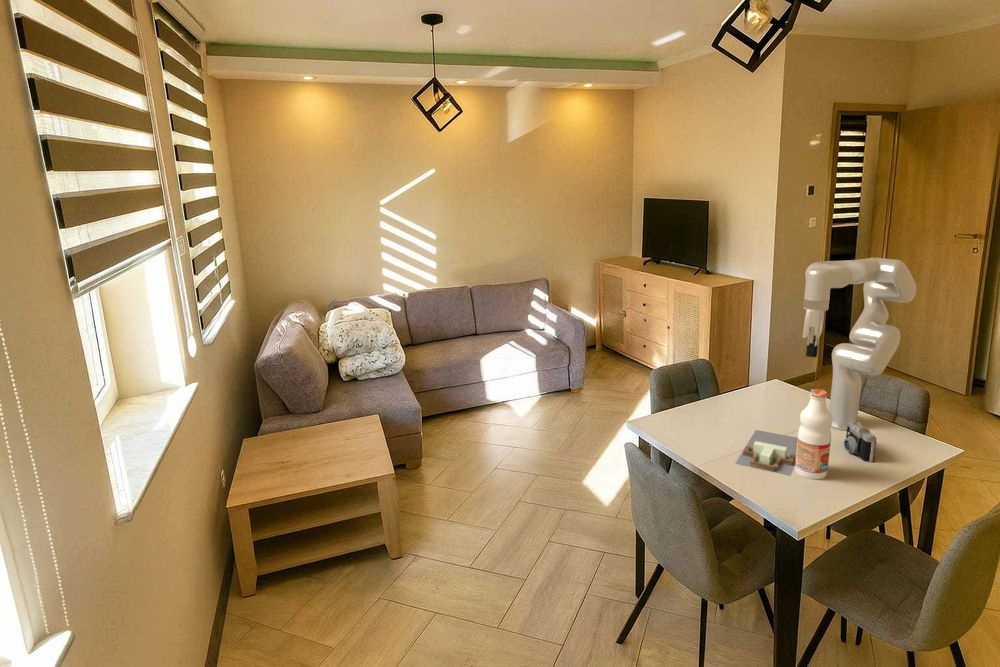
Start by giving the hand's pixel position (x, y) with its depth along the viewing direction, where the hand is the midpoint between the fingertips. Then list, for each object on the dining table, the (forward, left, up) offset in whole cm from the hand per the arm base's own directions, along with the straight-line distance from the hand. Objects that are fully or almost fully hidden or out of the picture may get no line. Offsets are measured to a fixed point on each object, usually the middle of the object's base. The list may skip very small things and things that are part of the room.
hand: (811, 356), depth 210 cm
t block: (+22, -8, -32) cm, 40 cm away
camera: (+1, +16, -32) cm, 36 cm away
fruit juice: (+24, +6, -32) cm, 41 cm away
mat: (+14, -8, -32) cm, 36 cm away
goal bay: (+23, -8, -32) cm, 40 cm away
